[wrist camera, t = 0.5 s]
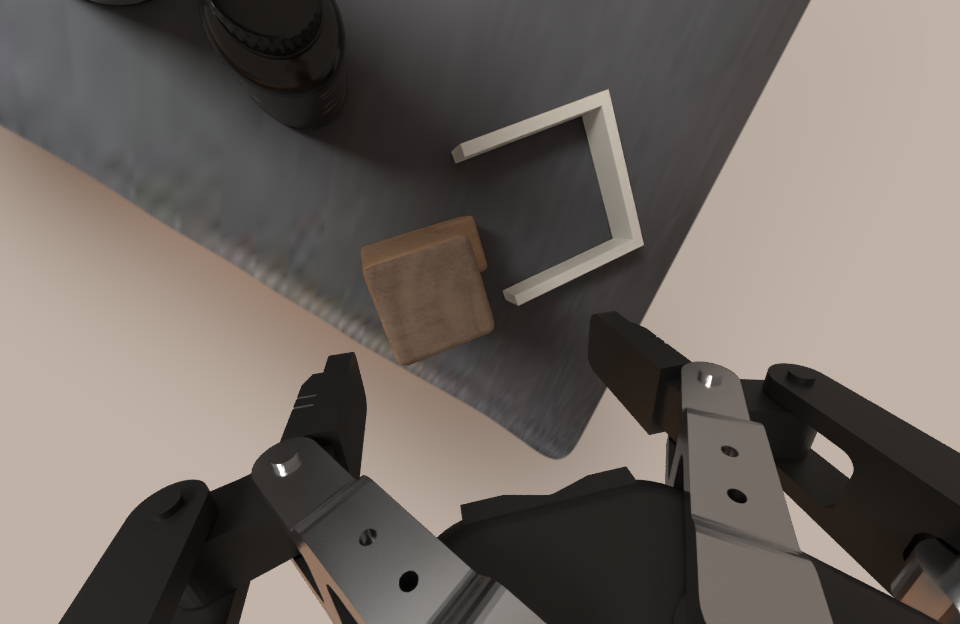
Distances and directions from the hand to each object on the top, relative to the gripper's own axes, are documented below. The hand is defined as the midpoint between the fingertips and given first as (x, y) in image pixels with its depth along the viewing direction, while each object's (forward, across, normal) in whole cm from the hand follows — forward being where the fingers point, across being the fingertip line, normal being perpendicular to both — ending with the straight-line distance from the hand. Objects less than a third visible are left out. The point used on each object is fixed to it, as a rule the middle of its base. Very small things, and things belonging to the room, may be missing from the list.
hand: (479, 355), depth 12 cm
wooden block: (+21, +1, +2) cm, 21 cm away
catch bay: (+23, -11, -1) cm, 26 cm away
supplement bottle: (+23, +8, -11) cm, 27 cm away
